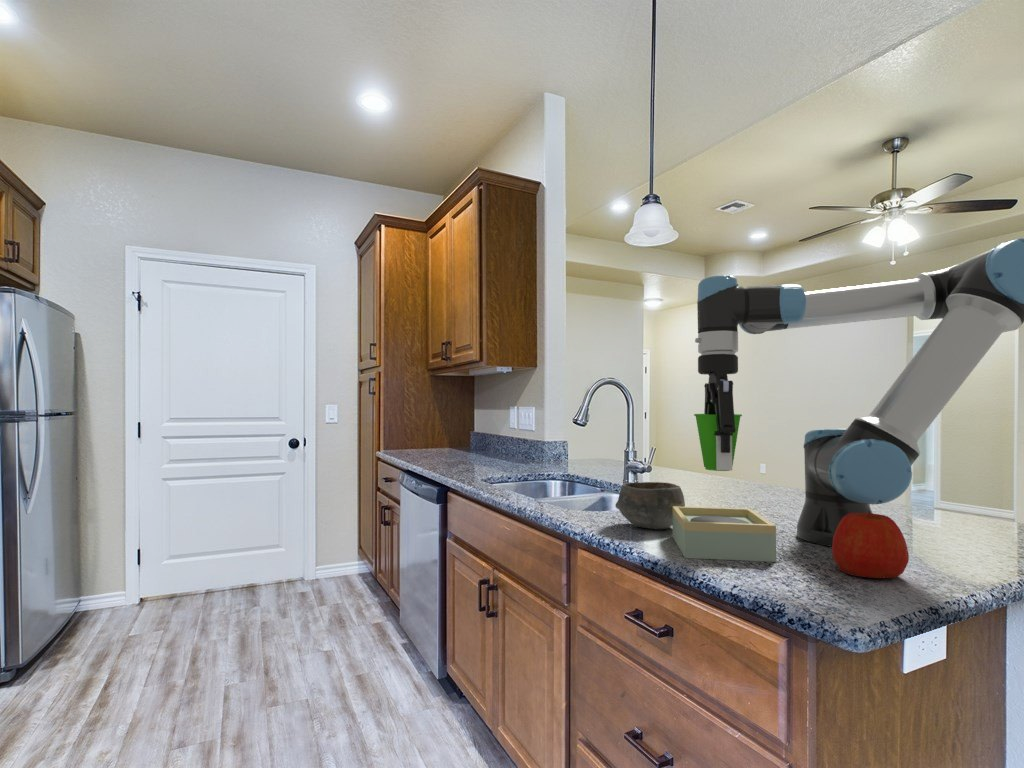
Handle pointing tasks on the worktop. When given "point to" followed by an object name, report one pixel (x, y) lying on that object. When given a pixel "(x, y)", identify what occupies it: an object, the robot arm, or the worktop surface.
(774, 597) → the worktop surface
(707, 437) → the cup
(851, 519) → the apple
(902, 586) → the worktop surface
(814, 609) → the worktop surface
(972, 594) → the worktop surface
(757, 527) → the open box
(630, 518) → the bowl
